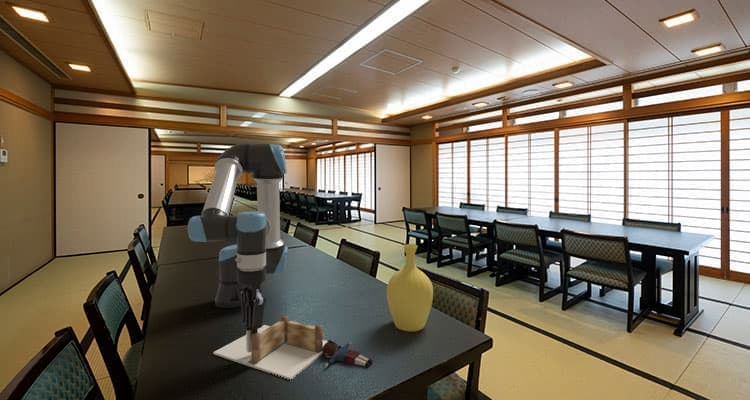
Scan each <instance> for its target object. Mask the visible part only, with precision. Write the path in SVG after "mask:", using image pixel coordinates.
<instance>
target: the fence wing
mask: <svg viewBox="0 0 750 400" xmlns="http://www.w3.org/2000/svg"><path fill="white" fill-rule="evenodd" d="M288 322H289V315H282V316H280V320H279V321H278V322H275V323H274V324H273V325H270V326H271V327H269V328H267V329H266V330H264V331H262V332H261V333H253V334H251V356H252V362H258V361H260V359H261V358H263V357H264V356H265V355H267V354H268V353H270V352H271V351H272V350H274V349H275V348H277V347H278V346H279V345H281V344H282V343H284V342H285V341H288Z"/></svg>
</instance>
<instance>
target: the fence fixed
mask: <svg viewBox="0 0 750 400" xmlns="http://www.w3.org/2000/svg"><path fill="white" fill-rule="evenodd" d="M323 327H324V326H323V324H315V325H309V324H306V323H302V322H297V321H294V320H293V321H292V320H290V321H289V320H288V343H289V344H293V345H296V346H300V347H303V348H307V349H311V350H314V351H316V352H321V351H322V348H323V340H324V339H323V338H324V337H323V336H324V333H323V329H324V328H323Z"/></svg>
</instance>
